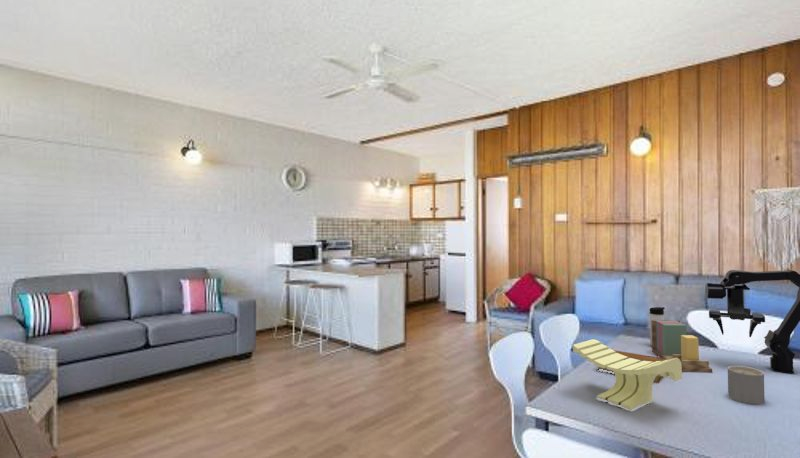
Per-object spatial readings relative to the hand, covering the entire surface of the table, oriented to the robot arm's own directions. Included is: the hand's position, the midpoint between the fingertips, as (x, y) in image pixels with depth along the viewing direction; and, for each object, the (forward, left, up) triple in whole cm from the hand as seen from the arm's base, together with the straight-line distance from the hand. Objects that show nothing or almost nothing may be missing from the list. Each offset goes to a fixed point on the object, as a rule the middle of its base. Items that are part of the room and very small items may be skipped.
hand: (736, 335), depth 183 cm
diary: (+37, +28, -14) cm, 48 cm away
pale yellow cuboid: (+17, +13, -12) cm, 24 cm away
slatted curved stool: (+36, +63, -13) cm, 74 cm away
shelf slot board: (+21, +5, -13) cm, 25 cm away
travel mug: (+30, -17, -13) cm, 37 cm away
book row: (+24, -3, -11) cm, 27 cm away
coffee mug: (0, +39, -13) cm, 41 cm away
